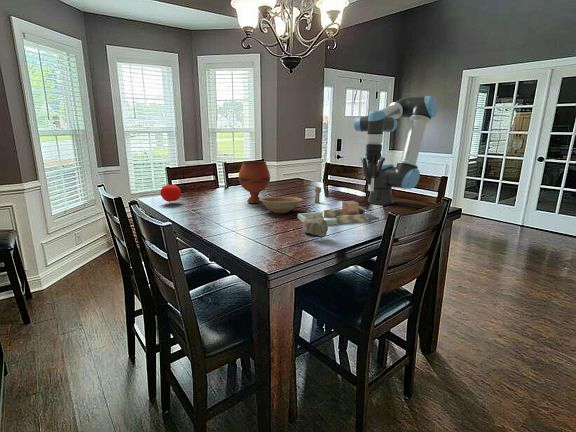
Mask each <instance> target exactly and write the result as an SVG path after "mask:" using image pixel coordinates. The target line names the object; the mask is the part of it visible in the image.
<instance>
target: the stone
mask: <svg viewBox="0 0 576 432" xmlns="http://www.w3.org/2000/svg"><path fill="white" fill-rule="evenodd" d="M325 220H326V219H324V218H323V217H317V216H313V215H307V216H305V218H304V222H302V232H305V233H308V234H310V235H315V236H319V237H323V236H326V235H327V233H328V230H329V225H327V223H326V221H325Z"/></svg>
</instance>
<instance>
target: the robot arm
mask: <svg viewBox="0 0 576 432" xmlns="http://www.w3.org/2000/svg"><path fill="white" fill-rule="evenodd" d="M437 113H438V101H437V99H436V97H434V96H433V95H421V96H408V97H407V96H406V97H403V98H401V99H399V100H396V101H394V102H392V103H390V104H389V105H388V106H387V107H384V108H382V109H380V110H371V111H369V113H368V115H366V116H359V117H358V116H357V117H356V118H355V119H354V121H353V128H354V130H355V131H356V132H366V133H367V135H366V136H367V137H366V143H367V144H366V146H365V152H366V153H365V155H364V156H363V157H361V158H360V160H361V164H362V169H363V176H364V177H366V178H367V181H366V183H367V185H368V186H367V187H368V188H367V191H369V192H370V193H369V196H368V198H367V202H368V203H370V204H371V205H372V204H373V205H382V206H387V205H388V206H389V205H393V204H394V202H395V201H394V195H393V191H392V190H393V189H392V188H396V189H397V188H399V189H402V190H403V189H404V190H407V189H408V190H411V189H414V188H415V187H416V186H417V184H418V182H419V181H420V175H421V172H420V170H419V169H418V168H419V166H418V165H417V161H418V157H419V153H420V150H421V146H422V143H423V139H424V134H425V131H426V127H427V125H428V124H429V123H430V122H431V120H432V118H434V117H435V118H436V115H437ZM400 118H402V119H403V118H404V119H405V118H407V119H408V118H409V120H410V124H409V128H408V132H407V135H406V140H405V142H404V146H403V151H402V155H401V158H400V161H398V162H397V163H396V165H394V164H393V163H392V164H390V163H389V164H384V163H385V161H386V158H385V157H383V156H382V151H383V150H382V149H383V144H382V143H383V142H384V141H383V140H384V139H383V138H384V133H390V132H394V131H395V130H396V129H397V127H398V120H397V119H400Z"/></svg>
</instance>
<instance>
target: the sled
mask: <svg viewBox="0 0 576 432" xmlns="http://www.w3.org/2000/svg"><path fill="white" fill-rule="evenodd" d="M359 205H360V203H359V202H358V201H354V200H345V201H343V200H342V203H341V209H342V214H336V216H348V215H361V214H366V208H362V207H360V206H359ZM336 216H335V217H336Z"/></svg>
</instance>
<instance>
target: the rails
mask: <svg viewBox="0 0 576 432" xmlns="http://www.w3.org/2000/svg"><path fill="white" fill-rule="evenodd" d="M307 215H313V216H317V217H320V218H323V217H324V211H318V212H316V211H315V212H303V213H297V220H300V221H301V222H302V223H303V222H304V218H305V216H307ZM324 220H325V221H326V223H327V225H328V226H331V225H332V226H334V225H337V224H336V218H333V219H332V218H330V219H324Z"/></svg>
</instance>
